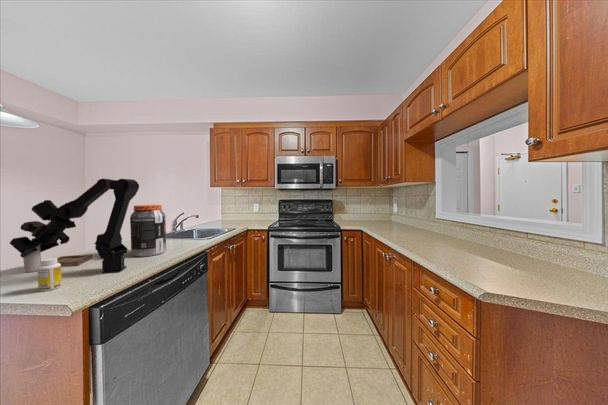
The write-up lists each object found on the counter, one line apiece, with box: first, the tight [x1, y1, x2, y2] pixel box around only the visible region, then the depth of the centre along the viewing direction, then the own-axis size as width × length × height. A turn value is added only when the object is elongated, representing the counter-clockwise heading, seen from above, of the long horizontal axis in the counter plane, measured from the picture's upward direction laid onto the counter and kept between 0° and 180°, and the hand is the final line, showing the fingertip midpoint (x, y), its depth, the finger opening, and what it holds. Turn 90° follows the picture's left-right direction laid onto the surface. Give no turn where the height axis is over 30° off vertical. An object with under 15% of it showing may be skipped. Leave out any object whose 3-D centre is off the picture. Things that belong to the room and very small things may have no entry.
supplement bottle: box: [36, 257, 63, 292], centre depth 82 cm, size 6×6×10 cm
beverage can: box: [22, 245, 42, 273], centre depth 99 cm, size 5×5×12 cm
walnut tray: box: [56, 254, 94, 268], centre depth 111 cm, size 12×12×2 cm
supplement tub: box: [129, 204, 167, 257], centre depth 128 cm, size 16×16×26 cm
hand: (28, 255), depth 99 cm, fingers closed on beverage can, 5 cm apart
